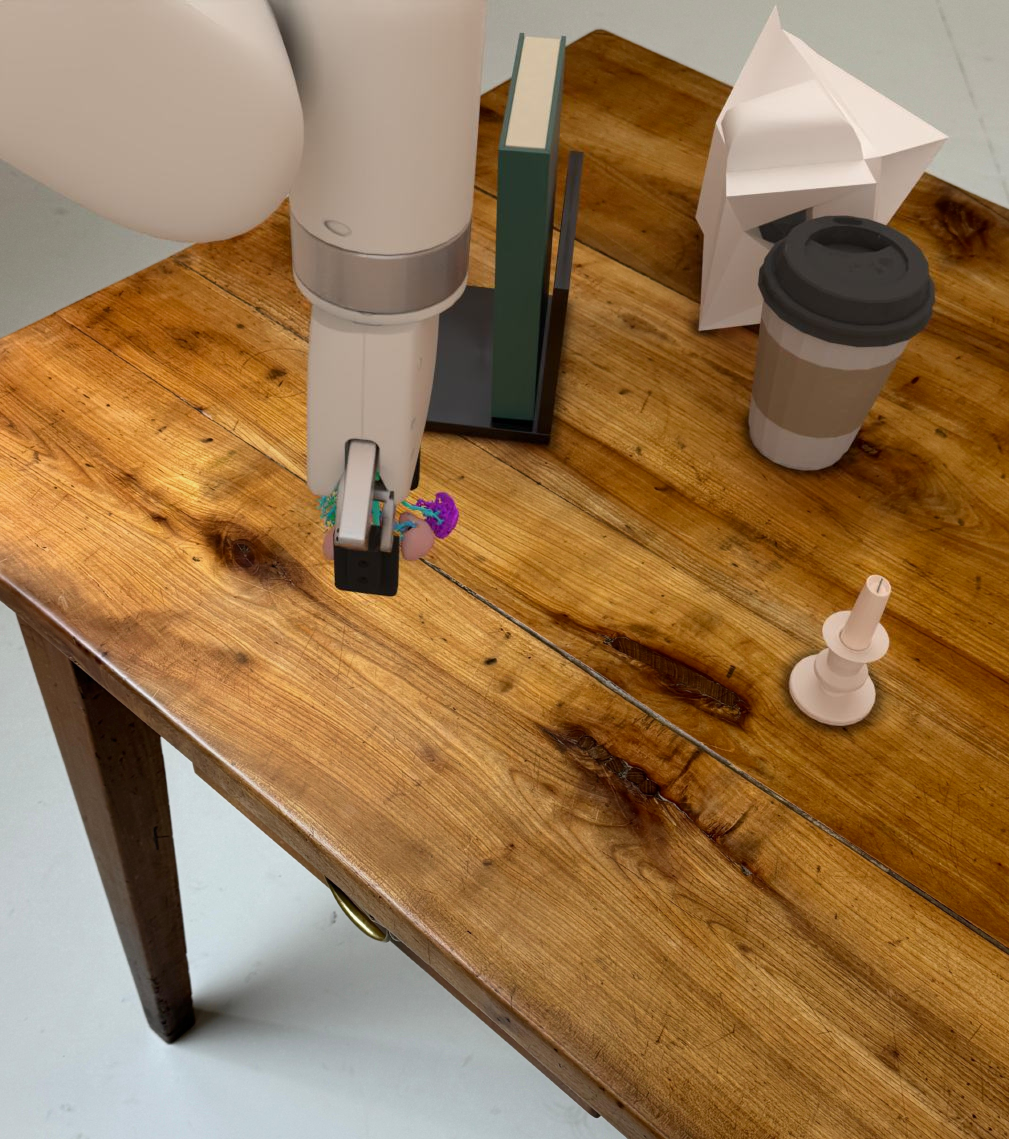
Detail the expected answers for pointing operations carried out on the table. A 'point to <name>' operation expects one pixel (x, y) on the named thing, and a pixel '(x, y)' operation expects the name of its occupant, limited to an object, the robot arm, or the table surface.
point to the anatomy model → (404, 524)
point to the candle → (844, 661)
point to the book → (525, 223)
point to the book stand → (469, 349)
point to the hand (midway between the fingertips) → (378, 533)
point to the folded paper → (796, 165)
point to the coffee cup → (831, 334)
